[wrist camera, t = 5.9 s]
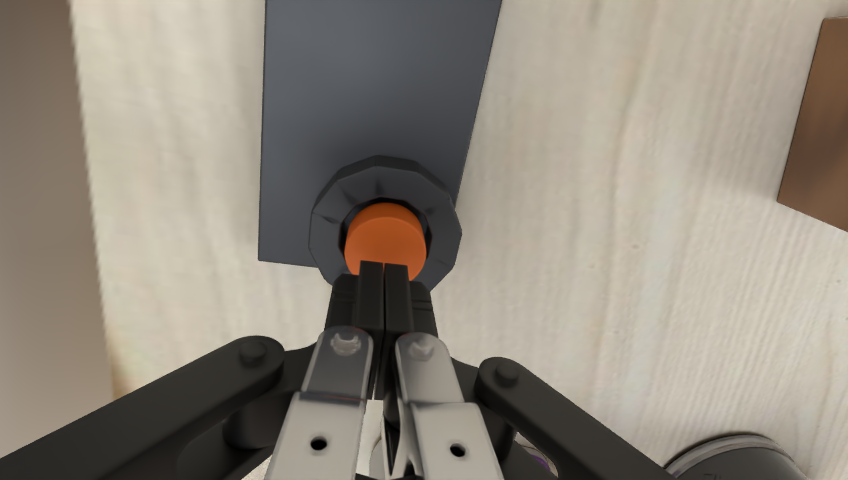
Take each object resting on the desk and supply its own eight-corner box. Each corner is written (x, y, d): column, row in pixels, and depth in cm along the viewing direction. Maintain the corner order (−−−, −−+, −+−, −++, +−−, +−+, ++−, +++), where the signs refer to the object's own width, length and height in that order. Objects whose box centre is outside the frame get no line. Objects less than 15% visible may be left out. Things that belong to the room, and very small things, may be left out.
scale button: (416, 274, 18) (418, 294, 17) (343, 265, 18) (340, 285, 16) (429, 207, 17) (433, 223, 16) (352, 196, 16) (349, 211, 15)
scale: (436, 276, 21) (443, 311, 19) (265, 255, 20) (246, 289, 17) (514, -73, 15) (542, -96, 13) (279, -133, 14) (254, -172, 12)
